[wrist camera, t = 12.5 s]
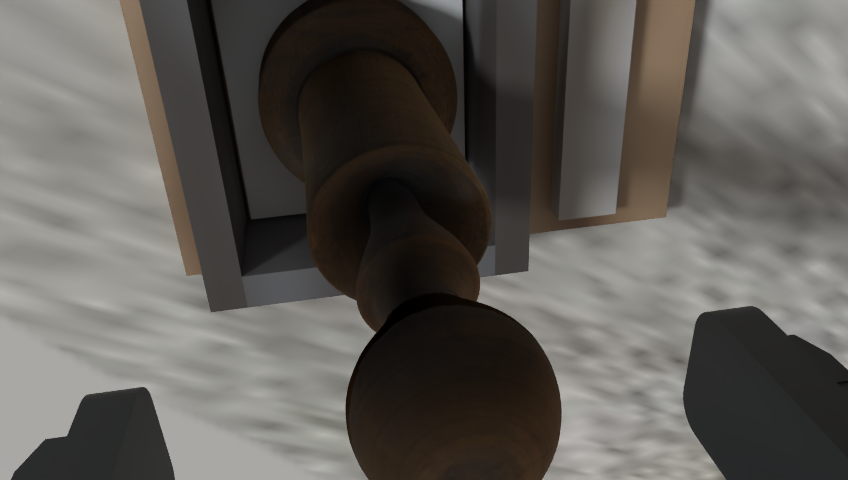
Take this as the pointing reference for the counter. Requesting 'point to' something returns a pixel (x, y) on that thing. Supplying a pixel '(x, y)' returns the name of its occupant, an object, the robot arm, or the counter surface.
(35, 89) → the counter surface
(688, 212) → the counter surface
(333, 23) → the brown wooden chess pawn
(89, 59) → the counter surface
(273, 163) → the socket board
